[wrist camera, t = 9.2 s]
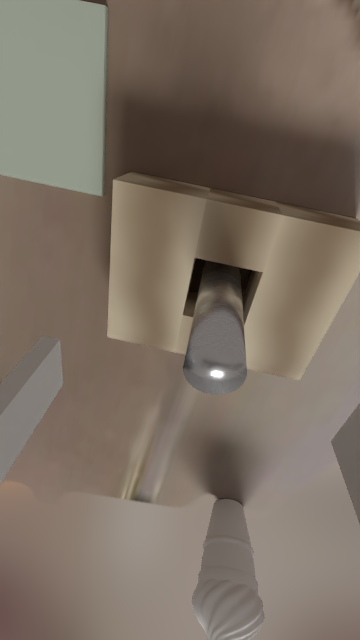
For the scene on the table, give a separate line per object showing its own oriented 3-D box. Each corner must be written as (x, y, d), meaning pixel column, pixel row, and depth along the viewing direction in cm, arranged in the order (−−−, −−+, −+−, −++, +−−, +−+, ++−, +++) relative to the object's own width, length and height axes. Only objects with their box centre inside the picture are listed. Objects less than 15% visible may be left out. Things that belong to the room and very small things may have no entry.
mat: (-24, 168, 22) (-28, 168, 22) (-63, -26, 17) (-68, -28, 16) (104, 195, 22) (102, 196, 22) (107, 7, 16) (105, 5, 16)
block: (122, 311, 28) (107, 337, 24) (131, 171, 21) (113, 179, 18) (291, 349, 27) (299, 380, 24) (355, 218, 20) (380, 235, 17)
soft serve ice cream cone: (224, 483, 41) (220, 655, 27) (269, 508, 42) (287, 681, 29) (189, 503, 45) (172, 660, 32) (232, 525, 47) (232, 682, 33)
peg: (199, 283, 25) (178, 386, 15) (207, 249, 23) (189, 340, 13) (234, 291, 25) (237, 400, 15) (244, 257, 23) (255, 354, 13)
